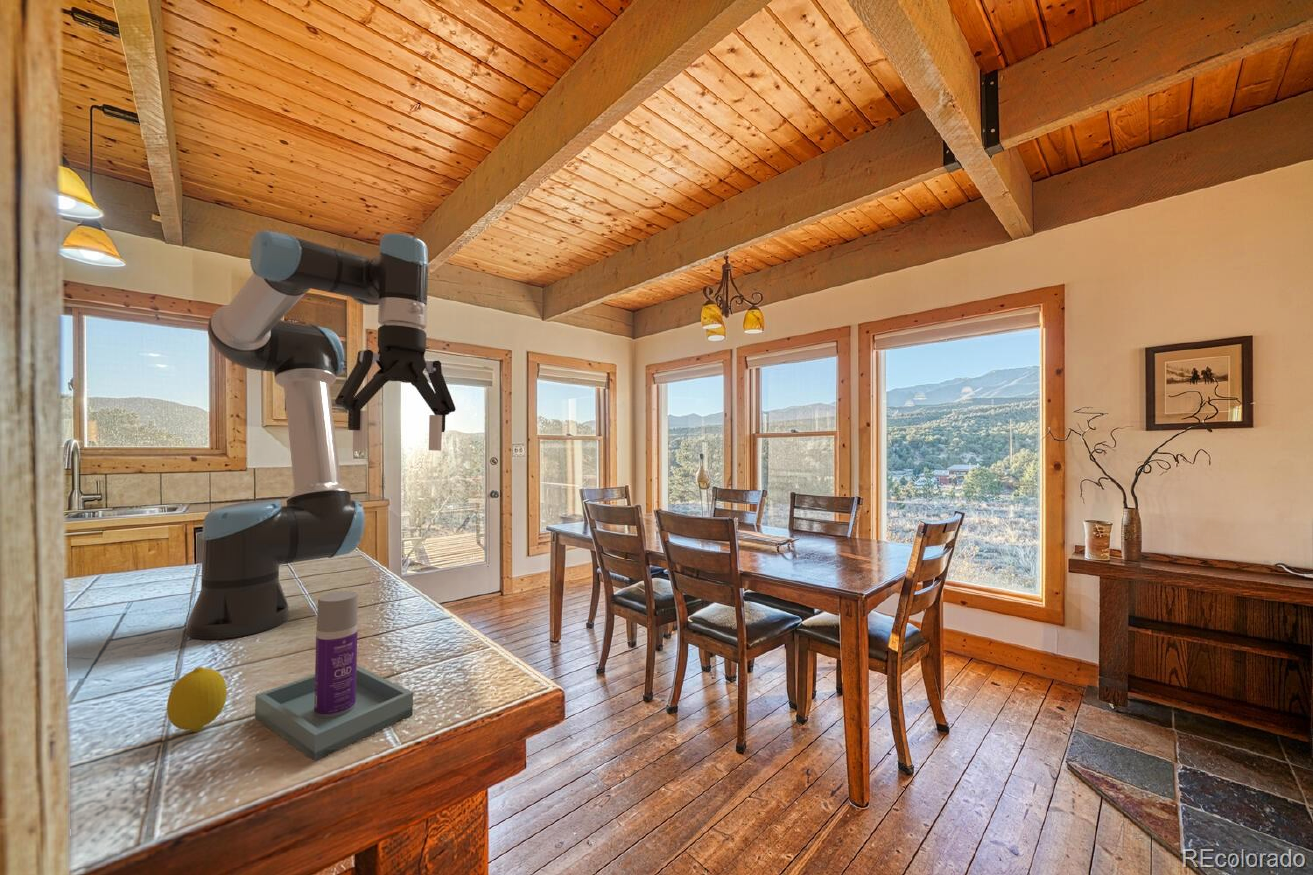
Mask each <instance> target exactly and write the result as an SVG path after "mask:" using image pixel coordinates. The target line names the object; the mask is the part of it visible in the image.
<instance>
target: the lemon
mask: <svg viewBox="0 0 1313 875" xmlns="http://www.w3.org/2000/svg"><path fill="white" fill-rule="evenodd" d="M227 693H228V692H227V685H226V681H225V679H224V676H223V675H222V674H221V673H220V672H219V671H217V670H215V669H211V668H205V667H203V666H199V667H195V668H194V669H193V670H191V671H189V672H188V673H186V674H184V675H182V677H180V678H179V679H178V680H177V681H176V682H175V684H174V685H173V686H172V688H171V690H170V692H169V695H168V699H167V708H166V710H167V717H168V720H169V722H170V723H171V724H172V725H173V726H174V727H175V728H177V729H180V730H185V731H191V732H193V733H198V732H200V731H201V730H202V729H203V728H204V727H205V726H208V725H209V724H210V723H212V722H214V720H215V719H216V718H218V716H219V715H220V714H221V712H222V711H223V709H224V707H225V704H226V700H227V695H228V694H227Z"/></svg>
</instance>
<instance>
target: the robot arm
mask: <svg viewBox="0 0 1313 875" xmlns="http://www.w3.org/2000/svg"><path fill="white" fill-rule="evenodd" d="M252 241H253V242H252V243H251V246H250V251H249V252H250V254H249V255H250V256H249V259H250V260H249V262H250V268H251V270H252V274H251V275H250V277H249V278H248V279H247V281H246V282H245V283H244V284H243V285H242V287H241V288H240V289H239V291H238V292H237V294H235V296H234V297H233V299H231V301H230V302H229V303H228V304H224V305H222V306H221V307H219V308H217V309H216V310H215V311H214V312H213V314H212V315H211V316H210V318H209V320H208V323H207V335H208V338H209V340H210V342H211V344H212V346H213V347H214V348H215V350H216V351H217V352H218V353H219V354H220V355H221V356H222V357H224V358H225V359H227V360H228V361H230V362H231V363H233V364H235V365H238V366H240V367H242V368H244V369H245V368H246V369H249V370H254V371H255V370H256V371H264V372H272V373H273V376H274V381H275V383H276V384H277V385H278V386H280V387H281V388H282V389H283V391H284V400H285V409H286V411H285V412H286V420H287V421H286V422H287V429H288V438H289V439H288V440H289V448H290V459H291V469H292V479H293V489H294V490H293V492H292V493H291V494H290V495H289V496H288V497H287V498H286V505H285V506H283V505H282V504H281V502H280V500H277V499H264V500H252V501H244V502H239V503H234V504H229V505H224V506H221V507H218V508H216V509H213V510H211V511H209V512H208V513H207V514H206V515H205V516H204V518H203V524H202V532H201V536H200V540H202V543H201V544H202V546H201V547H202V548H201V583H200V592H199V594H198V596H197V599H196V601H195V603H194V605H193V608H192V610H191V613H190V615H189V618H188V620H187V627H186V628H187V629H186V630H187V633H186V634H187V636H188V637H190V638H193V639H198V640H222V639H230V638H232V639H233V638H238V637H243V636H249V635H253V634H257V633H262V632H264V631H268V630H270V629H273V628H275V627H278V626H280V625H282V624H283V623H285V622H287V620H288V619H289V617H290V616H289V615H290V614H289V613H290V610H289V608H290V607H289V603H288V601H287V598H286V596H285V592H284V591H283V588H282V585H281V583H280V579H279V578H280V566H281V565H287V564H295V563H299V562H305V561H312V560H313V561H314V560H320V559H321V560H322V559H327V558H328V559H332V558H335V557H339V556H342V555H343V556H344V555H348V554H350V553H352V552H354V551H355V550H356V549H357V548H358V546H359V544H360V542H361V540H362V537H363V534H364V530H365V518H366V517H365V510H364V509H365V508H364V507H363V505H362V503H361V502H360V501H358V500H356V499H353V500H352V499H351V496H352V495H351V491H350V490H349V489H348V488H346V487H345V486H343V485H342V480H341V472H340V464H339V455H338V445H337V438H336V431H335V430H336V429H335V421H334V414H333V412H334V411H333V404H332V396H331V386H332V385H333V384H334V383H336V381H337V378H338V377H340V376H341V374H342V373H343V370H344V367H345V366H344V365H345V362H344V361H345V351H344V346H343V343H342V341H341V339H340V337H339V336H338V334H337V333H336V332H334V331H333V330H332V329H330V328H326V327H322V326H318V325H315V324H311V323H310V324H304V323H301V322H300V323H299V322H295V321H294V322H293V321H288V320H282V319H283V318H284V317H285V315H286V314H287V313H288V312H289V311H291V309H292V308H293V307H294V306H295V305H296V304H297V303H298V302H300V300H301V299H302V298H303V296H305V294H306V293H308V292H309V291H310V290H316V291H322V292H326V293H331V294H336V295H339V296H340V295H341V296H343V297H344V296H345V297H348V298H349V297H350V298H351V299H352V300H354V301H356V303H359V304H360V305H361V304H362V305H365V306H378V312H377V323H378V324H379V325H380V326H379V327H378V328H377V347H378V351H377V353H376V352H373V350H371V349H364V350H359V351H358V352H357V357H356V363H355V365H354V366H353V369H352V370H351V372H350V374H349V376H348V377H347V379H346V381H345V382H344V385H343V386H342V388H341V389H340V392H339V393H338V395H337V396H336V397H335V400H334V403H335V405H337V406H341V407H343V408H344V409H345V410H346V411H347V414H348V415H347V416H348V417H347V428H348V431H352V452H367V443H368V442H367V439H368V438H367V434H368V432H367V430H368V410H362V409H363V408H364V407H365V406H366V405H367V404H368V403H369V401H371V399H372V398H373V397H374V396H375V395H376V394H377V393H378V392H379V391H380V390H381V389H382V388H383V386H384V385H385V384H386V383H387V382H400V383H403V384H409V383H410V385H412V386H413V387H415V389H416V390H417V391H418V393H419V394H420V396H421V397H422V399H423V400H424V402H425V403H426V404H427V406H428V407H429V409H430V410H431V412H432V413H433V414H429V420H428V421H429V422H428V426H429V427H428V451H438V452H439V451H442V441H443V440H442V435H443V433H445V432H446V417H447V416H449V415H450V413H454V412H455V411H456V409H457V408H456V406H455V403H454V400H453V399H452V396H451V393H450V391H449V388H448V386H447V382H446V380H445V377H444V375H443V371H442V370H443V369H442V362H441V361H440V360H429V361H427V360H426V357H425V354H426V350H427V332H426V331H425V329H426V328H427V318H428V317H427V314H428V313H427V311H428V287H429V267H430V264H429V255H428V254H429V253H428V246H427V244H426V243H425V242H424V241H422V240H421V239H419V238H417V237H415V236H412V235H408V234H404V233H393V232H392V233H386V234H384V235H383V236H382V237H381V238H380V240H379V241H380V243H379V247H378V252H379V255H378V256H375V257H373V258H371V257H366V256H363V255H360V254H355V253H352V252H350V251H346V250H342V249H338V248H333V247H330V246H328V245H322V244H320V243H317V242H313V241H309V240H305V239H302V238H298V237H295V236H293V235H290V234H288V233H280V232H275V231H270V230H265V229H264V230H260V231H257V233H256V234H255V235H254V237H253V240H252ZM375 362H376V364H377V365H378V367H379V369H378V370H377V371H376V373H375V374H373V376H372V378H371V379H370V380H369V381H368V382H367V383H366V384H365V385H364V387H362V389H361V390H360V388H361V386H362V384H363V382H364V380H365V378H366V376H367V375H368V374H369V372H370V369H371V367H372V365H374V364H375ZM424 371H425V372H426V373H427V375H428V378H429V379H428V378H427V376H426V375H425V373H424ZM429 380H430V383H431V384H430V383H429Z"/></svg>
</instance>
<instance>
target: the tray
mask: <svg viewBox="0 0 1313 875" xmlns="http://www.w3.org/2000/svg"><path fill="white" fill-rule="evenodd" d="M254 701H255V702H254V703H255V704H254V705H255V706H254V708H255V709H254V718H255V719H256V720H257V721H259V722H260V723H261V724H263V725H264V726H266V727H267V728H268V729H270V730H271V731H272V732H274V733H275V734H277V735H278V736H279V737H280V738H282V739H284V740H285V741H287V743H289V744H290V745H292V746H293V747H294V748H296V749H297V750H298V751H300V752H301V753H303V754H304V755H305V756H306V757H308V758H309V759H311V760H312V761H314V762H316V761H318V760H321V759H323V758H324V757H326V756H328V755H329V756H330V755H331V754H333V753H335V752H337V751H339V750H342V749H344V748H346V747H347V746H350V745H353V744H354V743H357V742H358V741H360V740H362V739H364V738H367V737H369V736H371V735H374V734H375V733H377V732H379V731H381V730H384V729H386V728H388V727H390V726H391V725H392V726H393V725H394V724H396V723H398V722H400V721H402V720H405V719H407V718H409V717H410V716H412V715H413V713H414V712H413V711H414V710H413V708H414V703H413V702H414V692H413V691H411V690H409V689H407V688H405V687H403V686H400V684H399V685H398V684H397V683H395V682H393V681H390V680H388V679H385V677H382V676H381V675H378V674H376V673H373V672H371V671H370V670H367V669H365V668H364V667H361V666H359V665H357V670H356V704H355V707H354V708H353V709H352V710H351V711H349V712H348V713H346V714H343V715H341V716H337V717H333V718H319V717H316V716H315V714H314V701H315V674H313V675H310V676H307V677H306V676H305V677H303V678H300V679H298V680H295V681H292V682H289V683H287V684H283V685H281V686H277V687H275V688H272V689H270V690H266V691H263V692H260V693H257V694H255V700H254Z"/></svg>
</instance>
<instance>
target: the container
mask: <svg viewBox="0 0 1313 875" xmlns="http://www.w3.org/2000/svg"><path fill="white" fill-rule="evenodd" d="M316 617H317V618H316V630H315V631H316V633H315V659H314V660H315V667H314V670H315V671H314V673H315V674H314V675H315V701H314V714H315V716H316V717H319V718H333V717H337V716H341V715H343V714H346V713H348V712H349V711H351V710H352V709H353V708H354V707H355V704H356V670H357V666H358V664H357V662H358V659H357V658H358V634H359V633H358V630H359V629H358V625H359V624H358V619H359V618H358V593H357V592H355V591H353V590H352V591H348V590H344V591H343V590H341V591H335V592H333V591H332V592H328V593H325V594H322V595H320V596H319V597H318V598H317V616H316Z"/></svg>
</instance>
